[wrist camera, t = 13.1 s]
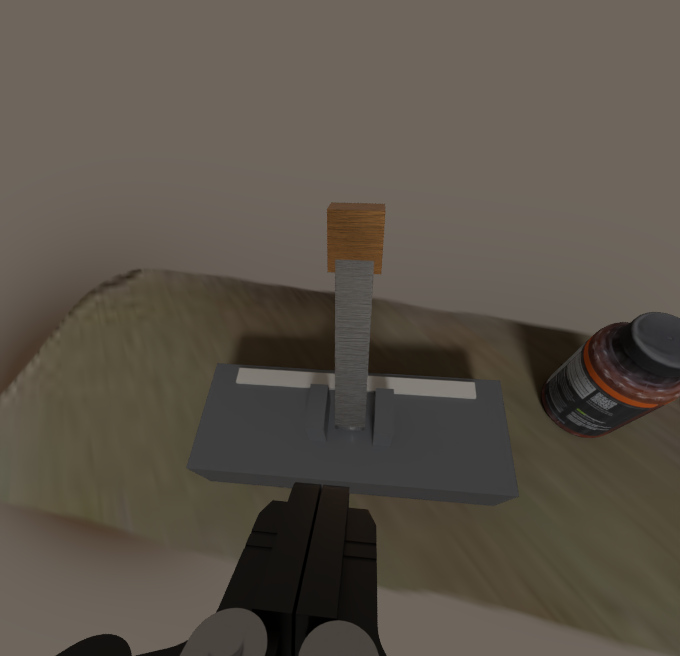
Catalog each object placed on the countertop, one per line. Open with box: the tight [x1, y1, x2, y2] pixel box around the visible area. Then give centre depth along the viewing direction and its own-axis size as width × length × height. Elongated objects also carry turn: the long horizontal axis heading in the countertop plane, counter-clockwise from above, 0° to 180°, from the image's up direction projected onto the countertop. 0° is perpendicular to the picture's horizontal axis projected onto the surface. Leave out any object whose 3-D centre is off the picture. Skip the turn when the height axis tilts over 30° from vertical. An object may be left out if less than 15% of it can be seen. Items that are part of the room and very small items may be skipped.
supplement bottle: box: [542, 312, 680, 438], centre depth 26 cm, size 6×6×11 cm
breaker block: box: [186, 363, 519, 506], centre depth 27 cm, size 22×8×8 cm, turn 85°
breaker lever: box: [327, 203, 385, 431], centre depth 22 cm, size 3×2×15 cm
